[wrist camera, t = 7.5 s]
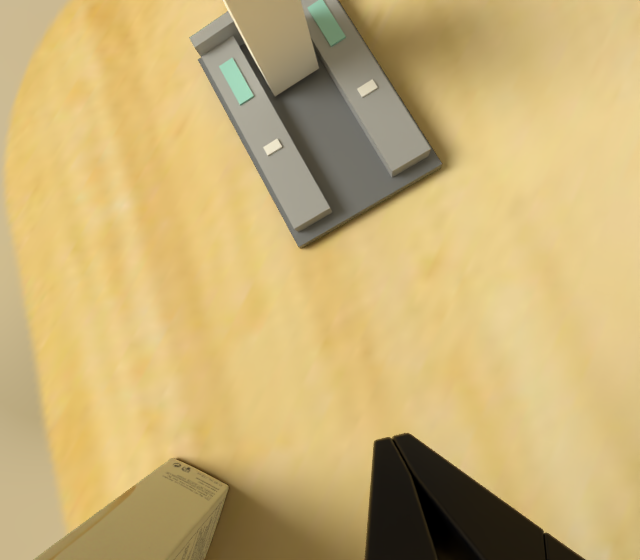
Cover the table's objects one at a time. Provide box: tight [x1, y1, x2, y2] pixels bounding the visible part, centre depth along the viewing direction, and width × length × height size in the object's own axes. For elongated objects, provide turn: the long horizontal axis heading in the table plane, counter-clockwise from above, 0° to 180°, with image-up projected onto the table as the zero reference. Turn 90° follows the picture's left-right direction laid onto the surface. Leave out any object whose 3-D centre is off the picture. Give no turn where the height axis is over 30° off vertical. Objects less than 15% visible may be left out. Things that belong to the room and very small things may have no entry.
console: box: [189, 0, 442, 249], centre depth 22 cm, size 15×10×2 cm, turn 30°
